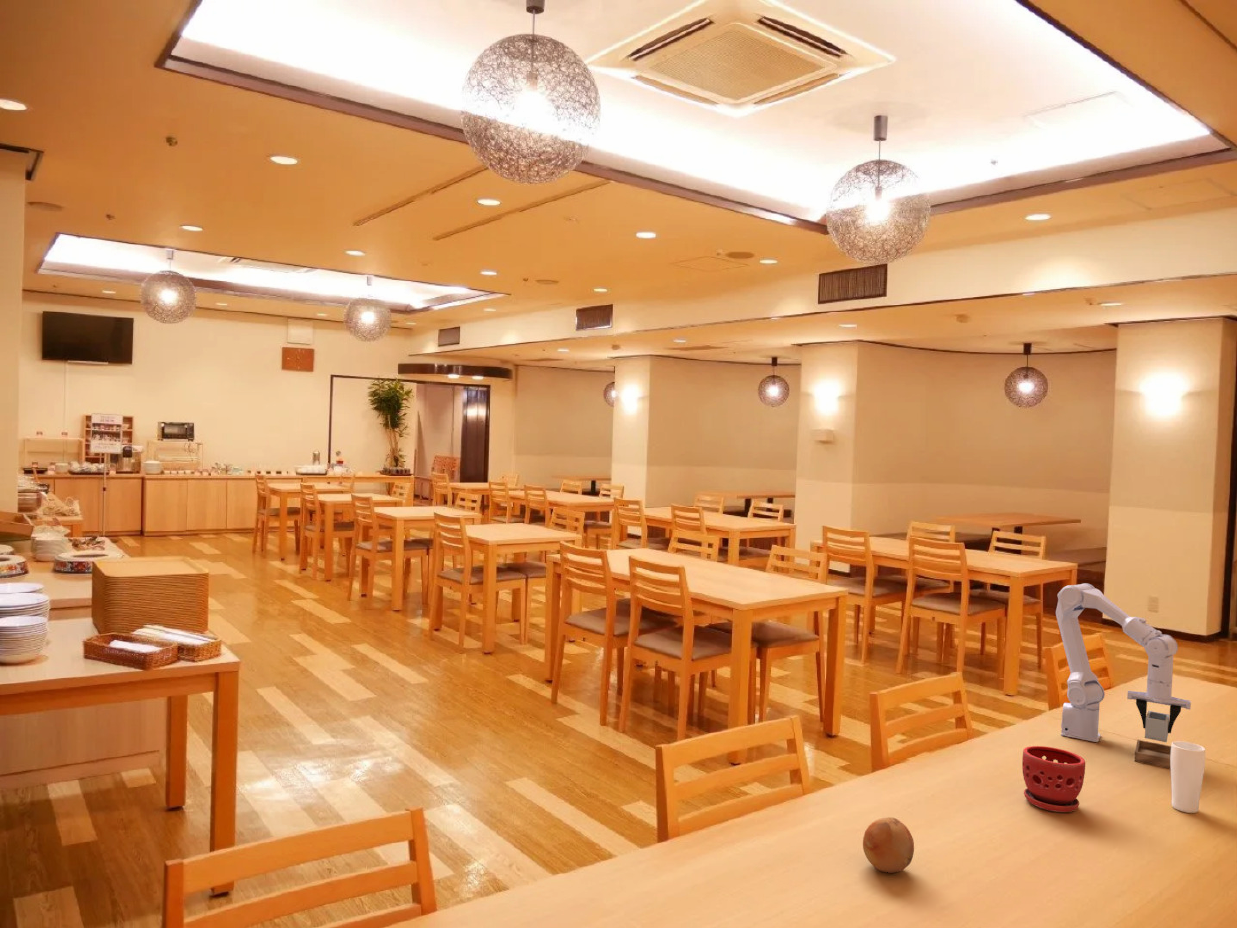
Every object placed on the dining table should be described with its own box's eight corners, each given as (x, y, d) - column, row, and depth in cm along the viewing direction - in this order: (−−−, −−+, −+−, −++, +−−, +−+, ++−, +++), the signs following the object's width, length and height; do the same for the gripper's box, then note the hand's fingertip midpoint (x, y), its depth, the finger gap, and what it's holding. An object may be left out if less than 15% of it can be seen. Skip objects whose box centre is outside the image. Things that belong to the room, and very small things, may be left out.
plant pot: (1091, 819, 194) (1093, 767, 193) (1028, 812, 196) (1031, 760, 196) (1072, 796, 206) (1075, 746, 206) (1014, 789, 209) (1016, 741, 209)
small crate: (1144, 737, 231) (1145, 717, 231) (1146, 730, 238) (1148, 710, 237) (1166, 742, 228) (1167, 721, 228) (1168, 734, 235) (1169, 714, 235)
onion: (872, 851, 175) (874, 803, 175) (921, 868, 169) (923, 818, 168) (852, 869, 167) (854, 819, 167) (902, 887, 161) (905, 835, 161)
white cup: (1191, 803, 204) (1195, 741, 203) (1208, 816, 197) (1212, 752, 197) (1161, 801, 205) (1165, 739, 204) (1177, 814, 198) (1180, 749, 197)
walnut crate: (1134, 761, 231) (1134, 751, 231) (1137, 748, 241) (1137, 739, 241) (1175, 769, 226) (1175, 760, 226) (1176, 755, 236) (1176, 746, 236)
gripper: (1127, 678, 233) (1125, 727, 234) (1191, 688, 225) (1188, 739, 226) (1129, 673, 239) (1126, 721, 240) (1191, 682, 231) (1189, 732, 232)
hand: (1157, 729), depth 233 cm, fingers closed on small crate, 5 cm apart
